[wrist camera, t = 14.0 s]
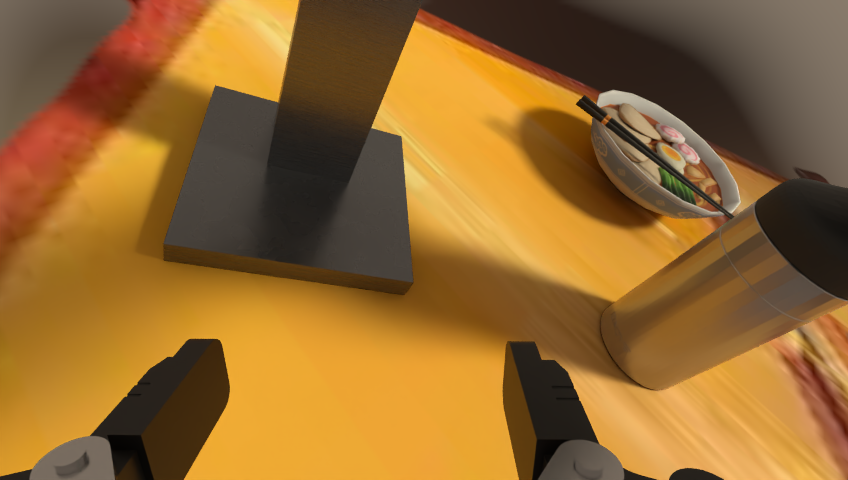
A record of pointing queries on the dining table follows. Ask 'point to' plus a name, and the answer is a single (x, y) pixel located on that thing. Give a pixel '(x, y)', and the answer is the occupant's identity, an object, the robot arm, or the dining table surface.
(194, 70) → the dining table surface
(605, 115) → the ramen bowl
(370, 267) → the stand
